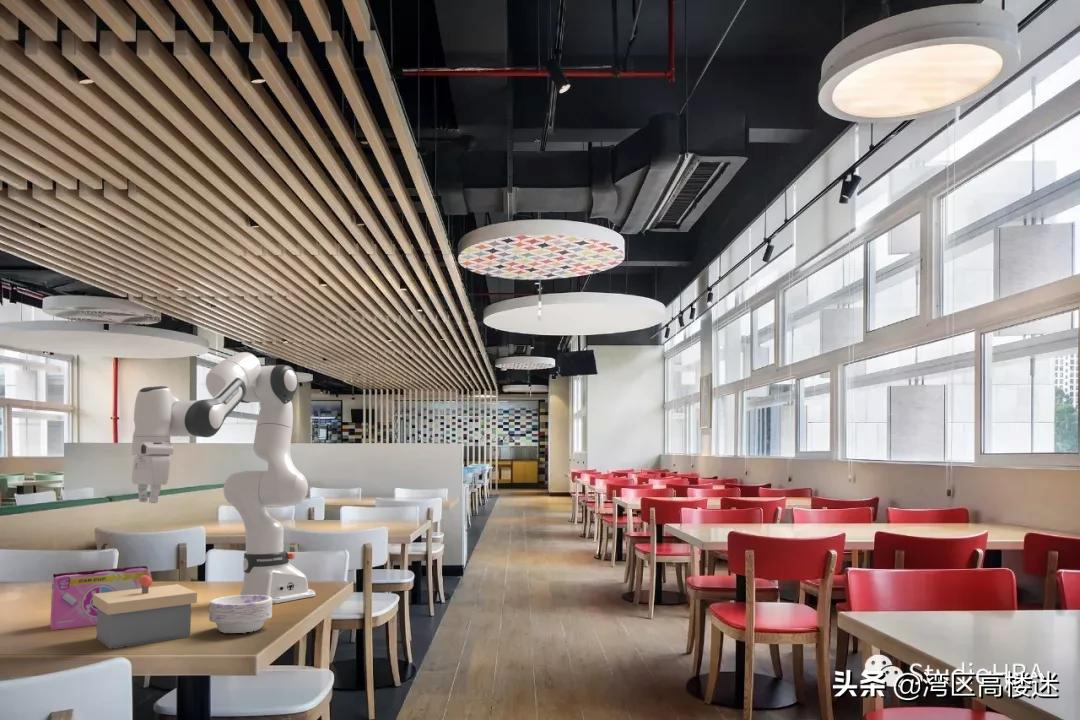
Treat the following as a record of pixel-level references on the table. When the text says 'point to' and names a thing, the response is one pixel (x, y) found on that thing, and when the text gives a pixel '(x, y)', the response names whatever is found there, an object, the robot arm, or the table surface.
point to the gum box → (87, 593)
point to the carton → (143, 626)
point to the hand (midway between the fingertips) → (148, 502)
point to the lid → (144, 598)
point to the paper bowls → (240, 612)
